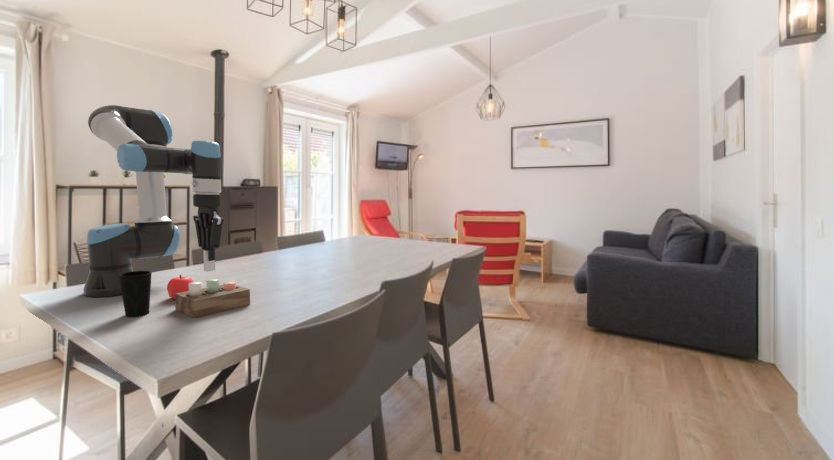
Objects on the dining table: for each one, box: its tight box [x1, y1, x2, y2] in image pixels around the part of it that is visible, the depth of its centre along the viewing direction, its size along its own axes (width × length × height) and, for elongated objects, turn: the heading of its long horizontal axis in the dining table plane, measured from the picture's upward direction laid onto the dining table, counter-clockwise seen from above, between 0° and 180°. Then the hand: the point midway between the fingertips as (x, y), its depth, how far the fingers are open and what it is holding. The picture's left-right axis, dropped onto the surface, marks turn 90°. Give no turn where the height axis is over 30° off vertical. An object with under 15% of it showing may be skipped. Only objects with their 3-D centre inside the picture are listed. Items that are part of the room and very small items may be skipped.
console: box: [174, 284, 251, 319], centre depth 120 cm, size 12×17×5 cm
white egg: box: [188, 281, 203, 298], centre depth 116 cm, size 4×4×4 cm
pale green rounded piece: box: [205, 278, 221, 294], centre depth 120 cm, size 4×4×4 cm
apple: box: [166, 274, 195, 300], centre depth 130 cm, size 8×8×8 cm
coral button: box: [222, 281, 237, 291], centre depth 124 cm, size 4×4×4 cm
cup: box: [119, 270, 152, 318], centre depth 112 cm, size 8×8×12 cm
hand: (209, 270), depth 119 cm, fingers closed
